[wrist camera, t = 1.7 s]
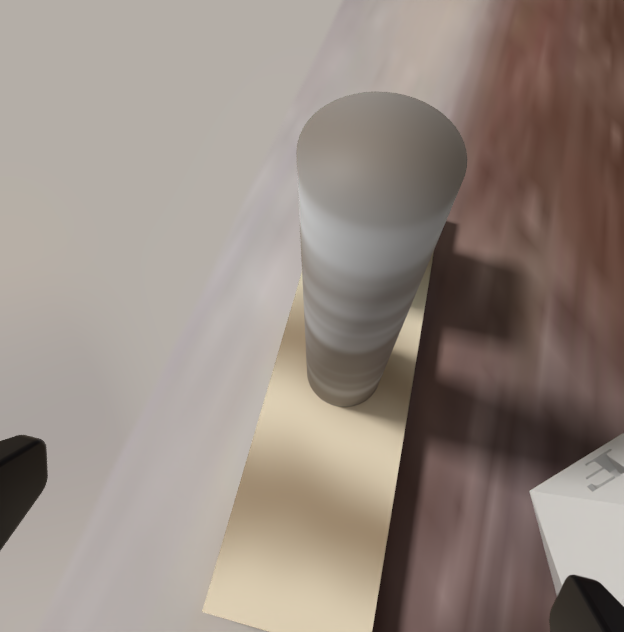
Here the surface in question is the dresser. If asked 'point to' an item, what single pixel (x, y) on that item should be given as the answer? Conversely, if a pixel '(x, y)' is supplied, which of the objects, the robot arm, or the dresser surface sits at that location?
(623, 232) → the dresser surface
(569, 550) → the die
